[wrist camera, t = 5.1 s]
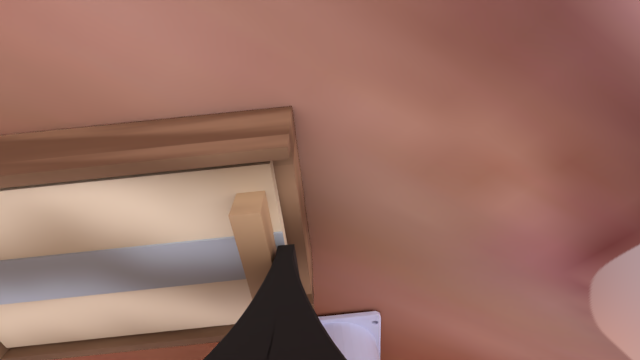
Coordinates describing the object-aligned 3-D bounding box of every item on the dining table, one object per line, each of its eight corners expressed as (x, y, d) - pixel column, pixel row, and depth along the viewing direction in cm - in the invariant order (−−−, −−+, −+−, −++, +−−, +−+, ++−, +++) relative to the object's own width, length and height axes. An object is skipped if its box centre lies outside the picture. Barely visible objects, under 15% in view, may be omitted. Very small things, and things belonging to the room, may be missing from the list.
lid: (298, 306, 17) (298, 345, 15) (17, 336, 17) (-21, 379, 15) (271, 156, 12) (265, 183, 10) (-113, 195, 12) (-193, 230, 10)
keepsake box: (312, 257, 22) (315, 331, 16) (62, 283, 21) (-13, 366, 16) (292, 106, 16) (287, 146, 11) (-40, 139, 16) (-198, 195, 11)
